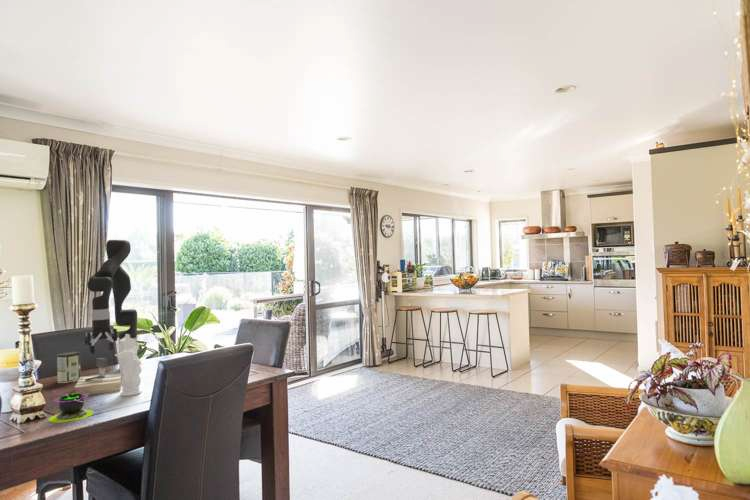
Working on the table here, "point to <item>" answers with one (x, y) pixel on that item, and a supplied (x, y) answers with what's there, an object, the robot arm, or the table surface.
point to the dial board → (99, 384)
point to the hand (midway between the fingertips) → (101, 351)
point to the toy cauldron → (71, 408)
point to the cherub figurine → (130, 372)
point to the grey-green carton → (68, 367)
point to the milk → (126, 347)
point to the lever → (100, 367)
